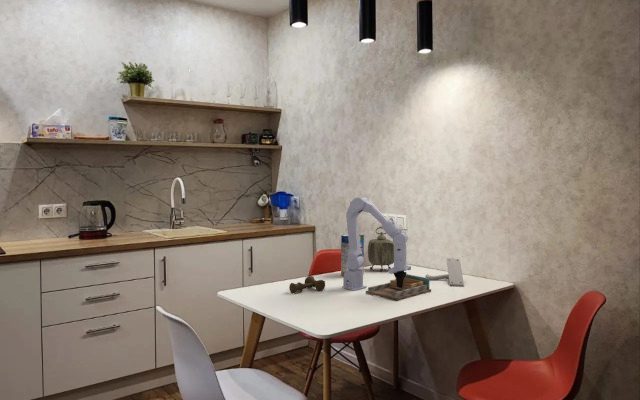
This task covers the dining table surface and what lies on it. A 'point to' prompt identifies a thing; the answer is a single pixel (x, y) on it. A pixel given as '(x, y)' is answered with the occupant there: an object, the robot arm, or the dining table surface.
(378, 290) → the bay
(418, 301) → the dining table surface
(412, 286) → the box
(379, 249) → the tabletop clock
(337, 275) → the dining table surface
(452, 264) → the door handle
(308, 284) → the brown knobbed bar
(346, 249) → the beverage box
